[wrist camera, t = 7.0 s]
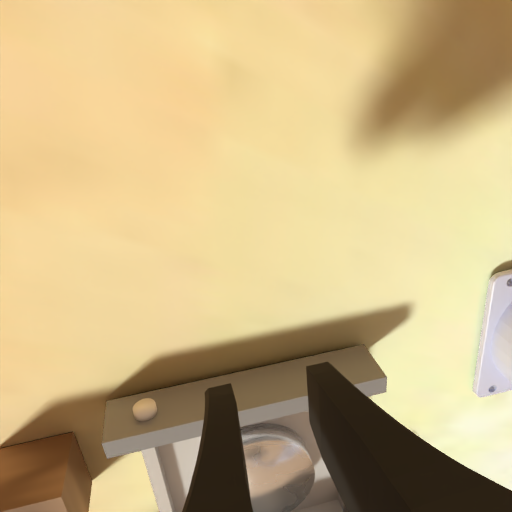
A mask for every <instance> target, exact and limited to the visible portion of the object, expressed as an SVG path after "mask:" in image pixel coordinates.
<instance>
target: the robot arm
mask: <svg viewBox="0 0 512 512" xmlns="http://www.w3.org/2000/svg"><path fill="white" fill-rule="evenodd" d="M509 279H510V280H509ZM508 280H509V281H508ZM507 281H508V282H507ZM306 374H307V391H308V407H309V422H310V425H311V428H312V431H313V434H314V437H315V440H316V443H317V446H318V448H319V451H320V454H321V457H322V459H323V461H324V463H325V465H326V468H327V470H328V472H329V474H330V476H331V478H332V480H333V482H334V484H335V487H336V489H337V491H338V493H339V495H340V497H341V499H342V501H343V503H344V505H345V507H346V509H347V511H348V512H512V491H511V490H509V489H507V488H505V487H503V486H501V485H499V484H497V483H495V482H494V481H492V480H490V479H488V478H486V477H484V476H482V475H480V474H478V473H477V472H475V471H473V470H471V469H469V468H467V467H465V466H464V465H462V464H460V463H459V462H457V461H455V460H454V459H452V458H450V457H449V456H447V455H446V454H444V453H442V452H441V451H439V450H438V449H436V448H434V447H433V446H431V445H430V444H429V443H427V442H426V441H424V440H423V439H421V438H420V437H418V436H417V435H415V434H414V433H413V432H411V431H410V430H409V429H407V428H406V427H405V426H403V425H402V424H400V423H399V422H398V421H397V420H395V419H394V418H393V417H391V416H390V415H389V414H388V413H386V412H385V411H384V410H383V409H381V408H380V407H379V406H378V405H377V404H375V403H374V402H373V401H372V400H370V399H369V398H368V397H367V396H366V395H365V394H363V393H362V392H361V391H360V390H359V389H358V388H357V387H356V386H354V385H353V384H352V383H351V382H350V381H349V380H348V379H347V378H346V377H345V376H343V375H342V374H341V373H340V372H339V371H338V370H337V369H336V368H335V367H334V366H333V365H332V364H330V363H329V362H323V363H319V364H314V365H310V366H306ZM509 390H512V269H511V270H506V271H502V272H498V273H495V274H494V275H493V276H492V277H491V278H490V281H489V285H488V291H487V298H486V305H485V311H484V318H483V324H482V331H481V338H480V344H479V351H478V358H477V364H476V371H475V377H474V384H473V392H474V393H475V394H476V395H477V396H478V397H485V396H489V395H493V394H497V393H501V392H505V391H509ZM182 512H253V509H252V504H251V498H250V490H249V482H248V475H247V468H246V461H245V455H244V448H243V442H242V435H241V429H240V422H239V416H238V409H237V403H236V399H235V395H234V392H233V388H232V385H231V383H229V384H225V385H220V386H216V387H211V388H208V389H207V390H206V391H205V413H204V422H203V429H202V435H201V440H200V446H199V451H198V456H197V460H196V464H195V468H194V472H193V476H192V480H191V483H190V487H189V491H188V494H187V497H186V501H185V504H184V507H183V510H182Z"/></svg>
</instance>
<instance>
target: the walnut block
mask: <svg viewBox="0 0 512 512" xmlns="http://www.w3.org/2000/svg"><path fill="white" fill-rule="evenodd" d="M91 486H92V480H91V477H90V474H89V472H88V469H87V467H86V464H85V461H84V459H83V456H82V453H81V451H80V448H79V446H78V443H77V440H76V438H75V435H74V432H71V433H66V434H62V435H58V436H53V437H49V438H44V439H40V440H36V441H31V442H27V443H22V444H18V445H14V446H9V447H5V448H0V512H88V511H89V503H90V495H91Z"/></svg>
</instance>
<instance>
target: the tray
mask: <svg viewBox="0 0 512 512" xmlns="http://www.w3.org/2000/svg"><path fill="white" fill-rule="evenodd" d="M323 362H329V363H330V364H332V365H333V366H334V367H335V368H336V369H337V370H338V371H339V372H340V373H341V374H342V375H343V376H345V377H346V378H347V379H348V380H349V381H350V382H351V383H352V384H353V385H354V386H356V387H357V388H358V389H359V390H360V391H361V392H362V393H363V394H365V395H366V396H367V397H368V396H372V395H376V394H380V393H384V392H386V385H387V377H386V375H385V374H384V372H383V371H382V369H381V368H380V367H379V365H378V364H377V362H376V361H375V360H374V358H373V357H372V355H371V354H370V353H369V351H368V350H367V348H366V347H365V345H364V344H363V345H358V346H354V347H349V348H345V349H340V350H336V351H331V352H327V353H322V354H318V355H313V356H309V357H304V358H300V359H295V360H290V361H286V362H281V363H277V364H272V365H268V366H263V367H259V368H254V369H250V370H245V371H241V372H236V373H231V374H227V375H222V376H218V377H213V378H209V379H204V380H200V381H195V382H191V383H186V384H182V385H177V386H172V387H168V388H163V389H159V390H154V391H150V392H145V393H141V394H136V395H132V396H127V397H123V398H118V399H113V400H109V401H106V409H105V418H104V427H103V436H102V446H103V449H104V452H105V455H106V457H107V459H108V458H112V457H116V456H120V455H125V454H129V453H133V452H137V451H142V455H143V458H144V462H145V465H146V468H147V472H148V475H149V478H150V482H151V485H152V489H153V492H154V495H155V499H156V502H157V506H158V509H159V512H182V510H183V507H184V504H185V501H186V497H187V494H188V491H189V487H190V483H191V480H192V476H193V472H194V468H195V464H196V460H197V456H198V451H199V446H200V440H201V435H202V429H203V422H204V413H205V391H206V390H207V389H208V388H211V387H216V386H220V385H225V384H229V383H231V385H232V388H233V392H234V395H235V399H236V403H237V409H238V416H239V422H240V428H242V427H245V426H248V425H253V424H260V423H273V424H279V425H283V426H286V427H288V428H290V429H292V430H294V431H295V432H296V433H298V434H299V435H300V436H301V438H302V439H303V441H304V443H305V446H306V448H307V451H308V453H309V456H310V458H311V461H312V463H313V466H314V470H315V479H314V484H313V486H312V489H311V491H310V492H309V494H308V495H307V497H306V498H305V499H304V500H303V501H302V503H301V504H299V505H298V506H297V507H296V508H295V509H293V510H292V511H291V512H348V511H347V509H346V507H345V505H344V503H343V501H342V499H341V497H340V495H339V493H338V491H337V489H336V487H335V484H334V482H333V480H332V478H331V476H330V474H329V472H328V470H327V468H326V465H325V463H324V461H323V459H322V457H321V454H320V451H319V448H318V446H317V443H316V440H315V437H314V434H313V431H312V428H311V425H310V422H309V407H308V391H307V374H306V366H310V365H314V364H319V363H323Z"/></svg>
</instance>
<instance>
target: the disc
mask: <svg viewBox="0 0 512 512" xmlns="http://www.w3.org/2000/svg"><path fill="white" fill-rule="evenodd" d="M240 429H241V435H242V442H243V448H244V455H245V461H246V468H247V475H248V482H249V490H250V498H251V504H252V509H253V512H291V511H292V510H293V509H295V508H296V507H297V506H298V505H299V504H301V503H302V501H303V500H304V499H305V498H306V497H307V495H308V494H309V492H310V491H311V489H312V486H313V484H314V479H315V470H314V466H313V463H312V461H311V458H310V456H309V453H308V451H307V448H306V446H305V443H304V441H303V439H302V438H301V436H300V435H299V434H298V433H296V432H295V431H294V430H292V429H290V428H288V427H286V426H283V425H279V424H273V423H260V424H253V425H248V426H245V427H242V428H240Z"/></svg>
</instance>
